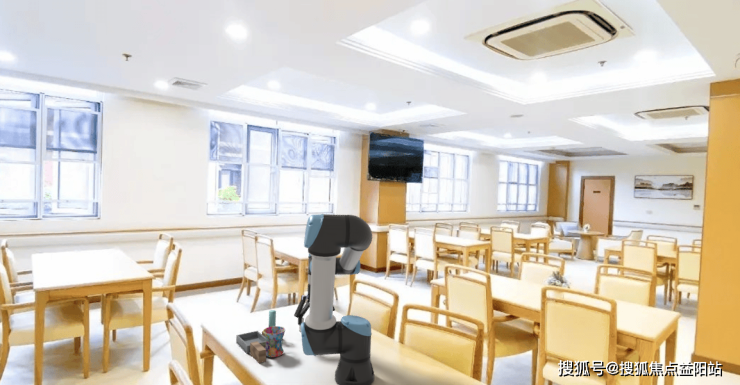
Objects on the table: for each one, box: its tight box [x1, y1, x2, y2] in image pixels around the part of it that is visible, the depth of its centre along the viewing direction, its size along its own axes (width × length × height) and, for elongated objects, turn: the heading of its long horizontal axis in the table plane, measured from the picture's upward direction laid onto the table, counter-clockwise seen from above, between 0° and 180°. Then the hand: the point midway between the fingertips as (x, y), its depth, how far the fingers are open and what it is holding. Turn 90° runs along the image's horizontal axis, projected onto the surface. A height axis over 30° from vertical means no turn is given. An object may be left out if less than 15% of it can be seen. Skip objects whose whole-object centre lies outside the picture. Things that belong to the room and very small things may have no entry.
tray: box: [235, 330, 266, 355], centre depth 174 cm, size 14×10×4 cm
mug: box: [262, 325, 286, 358], centre depth 167 cm, size 12×9×11 cm
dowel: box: [268, 309, 277, 327], centre depth 182 cm, size 3×3×13 cm
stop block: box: [249, 341, 267, 364], centre depth 162 cm, size 10×3×5 cm, turn 37°
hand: (314, 329), depth 177 cm, fingers open, 13 cm apart
